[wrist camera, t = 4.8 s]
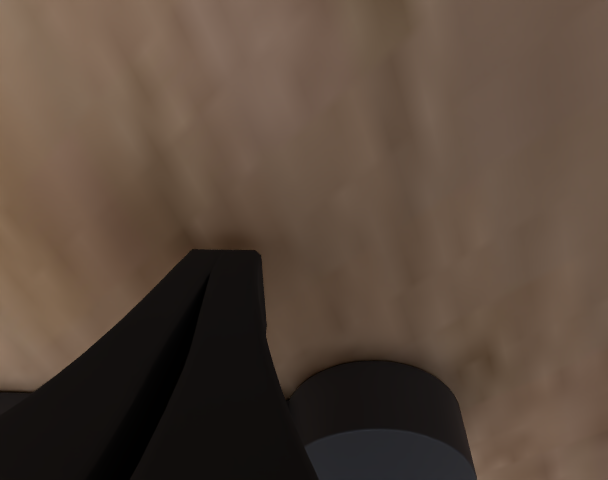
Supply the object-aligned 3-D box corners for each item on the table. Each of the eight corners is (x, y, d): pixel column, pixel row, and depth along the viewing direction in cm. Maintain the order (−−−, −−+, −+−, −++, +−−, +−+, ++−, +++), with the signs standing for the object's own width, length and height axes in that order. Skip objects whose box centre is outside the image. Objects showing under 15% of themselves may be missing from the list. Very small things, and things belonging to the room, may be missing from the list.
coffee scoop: (-22, 456, 16) (-62, 520, 14) (-90, 348, 13) (-151, 413, 12) (446, 472, 15) (460, 542, 14) (474, 362, 13) (495, 433, 11)
